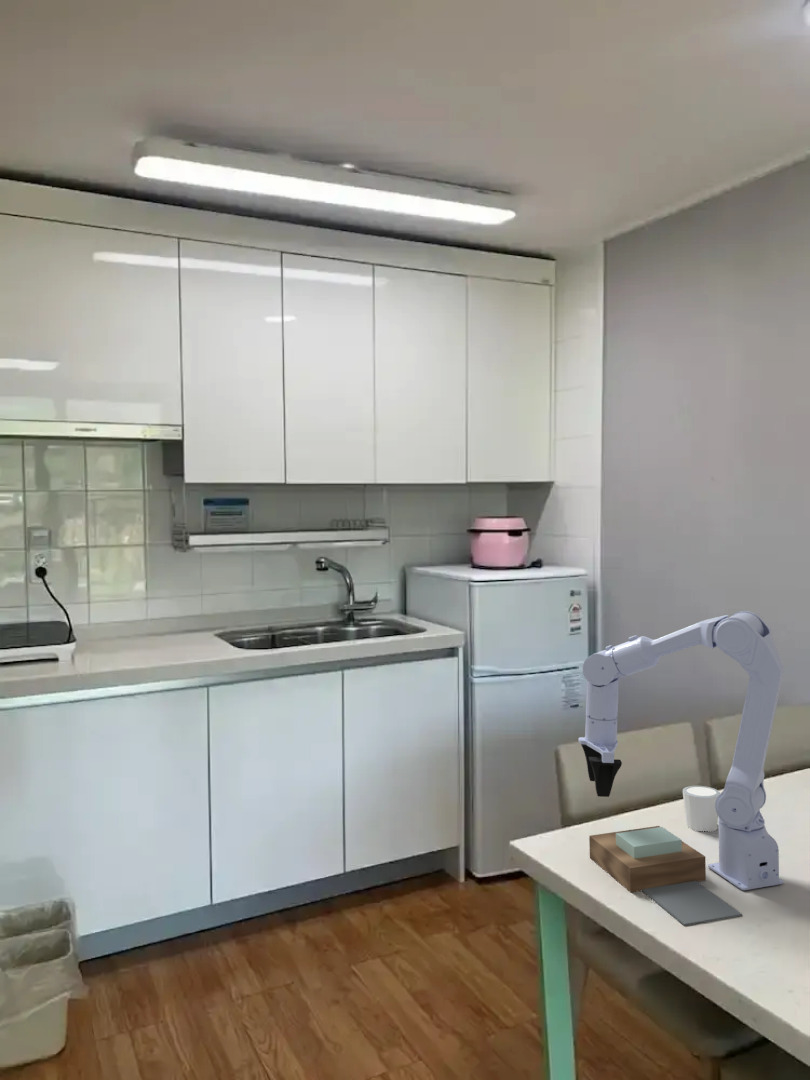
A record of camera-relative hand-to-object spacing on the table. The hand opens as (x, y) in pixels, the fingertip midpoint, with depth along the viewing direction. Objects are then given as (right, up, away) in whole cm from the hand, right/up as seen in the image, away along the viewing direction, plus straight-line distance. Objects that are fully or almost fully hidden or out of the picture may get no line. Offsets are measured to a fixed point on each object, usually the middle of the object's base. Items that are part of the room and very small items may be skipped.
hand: (599, 788), depth 154 cm
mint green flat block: (+6, -7, -12) cm, 15 cm away
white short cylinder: (+22, -10, +7) cm, 25 cm away
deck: (+6, -11, -11) cm, 16 cm away
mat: (+9, -11, -23) cm, 27 cm away
